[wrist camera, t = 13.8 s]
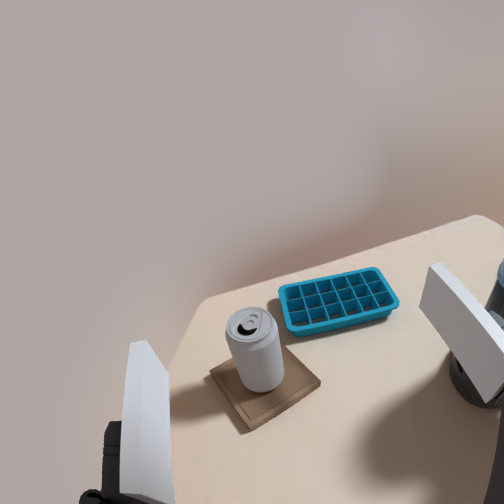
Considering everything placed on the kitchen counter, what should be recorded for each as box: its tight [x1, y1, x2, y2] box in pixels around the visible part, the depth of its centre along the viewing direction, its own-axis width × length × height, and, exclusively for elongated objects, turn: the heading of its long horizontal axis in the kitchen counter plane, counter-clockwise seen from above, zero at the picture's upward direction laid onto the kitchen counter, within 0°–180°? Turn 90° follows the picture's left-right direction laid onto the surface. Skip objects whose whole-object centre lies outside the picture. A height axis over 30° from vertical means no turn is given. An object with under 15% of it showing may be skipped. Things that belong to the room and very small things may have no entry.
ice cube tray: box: [278, 267, 399, 337], centre depth 52 cm, size 12×20×3 cm, turn 95°
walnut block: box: [209, 342, 321, 431], centre depth 42 cm, size 12×12×2 cm
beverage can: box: [225, 307, 284, 392], centre depth 38 cm, size 6×6×12 cm
